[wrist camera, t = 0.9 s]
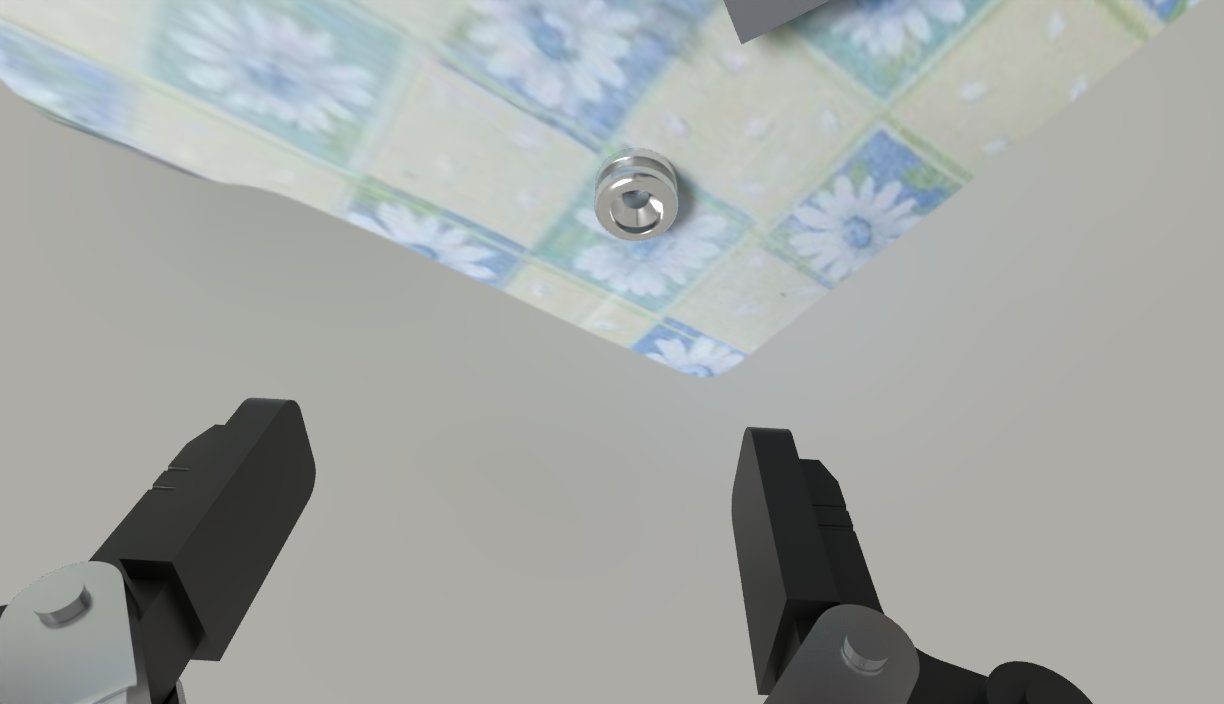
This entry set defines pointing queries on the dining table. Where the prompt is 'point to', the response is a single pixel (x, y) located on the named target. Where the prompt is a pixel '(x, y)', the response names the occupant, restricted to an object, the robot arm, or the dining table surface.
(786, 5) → the socket block
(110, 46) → the dining table surface
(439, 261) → the dining table surface
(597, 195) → the metal grooved wheel
